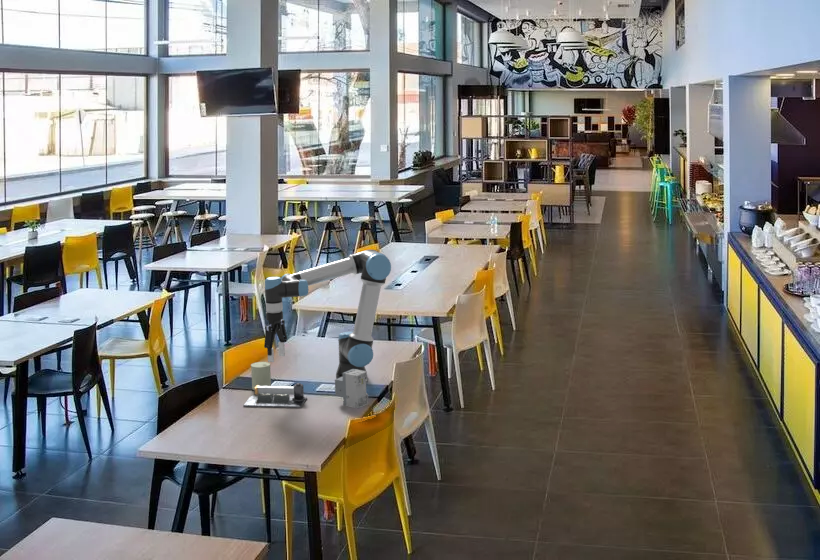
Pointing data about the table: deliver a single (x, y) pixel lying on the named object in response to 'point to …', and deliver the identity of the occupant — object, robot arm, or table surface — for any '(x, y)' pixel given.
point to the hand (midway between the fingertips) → (276, 358)
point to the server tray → (274, 401)
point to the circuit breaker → (352, 388)
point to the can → (260, 374)
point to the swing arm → (282, 390)
